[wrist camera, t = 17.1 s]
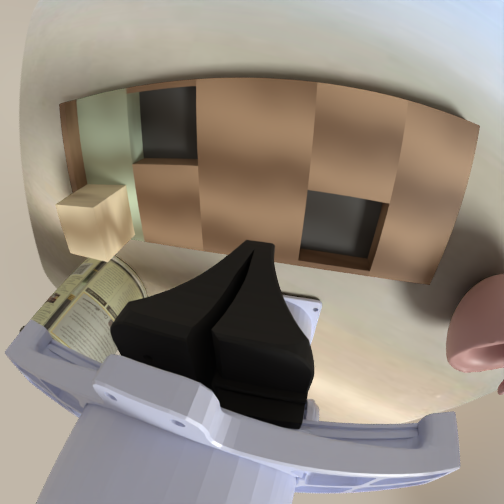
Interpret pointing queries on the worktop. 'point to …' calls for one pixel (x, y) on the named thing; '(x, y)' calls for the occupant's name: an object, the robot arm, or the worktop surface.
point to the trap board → (279, 170)
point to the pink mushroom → (478, 329)
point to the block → (96, 220)
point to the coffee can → (90, 306)
